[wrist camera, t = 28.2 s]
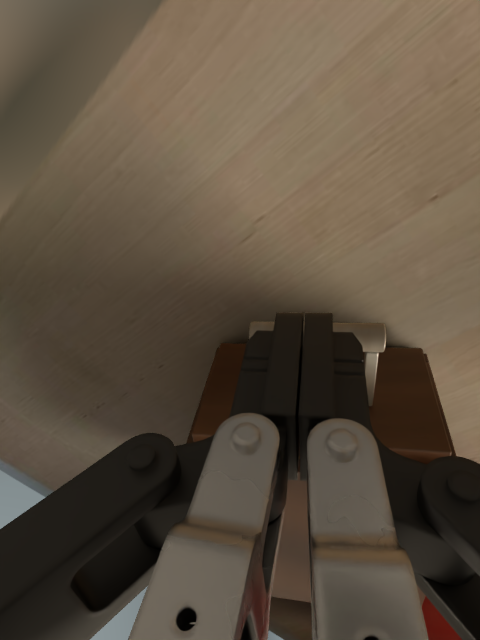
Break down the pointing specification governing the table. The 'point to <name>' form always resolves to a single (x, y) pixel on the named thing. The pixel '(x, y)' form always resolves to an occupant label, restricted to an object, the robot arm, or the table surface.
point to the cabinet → (302, 527)
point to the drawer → (382, 388)
